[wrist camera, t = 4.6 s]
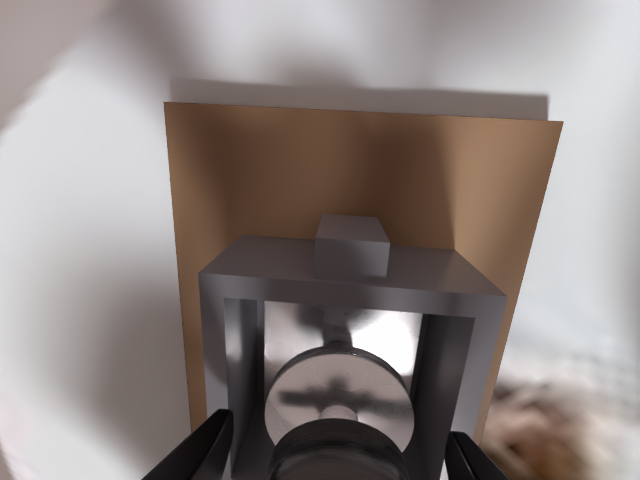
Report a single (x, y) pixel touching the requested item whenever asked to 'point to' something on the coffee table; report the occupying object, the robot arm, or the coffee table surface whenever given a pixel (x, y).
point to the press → (353, 292)
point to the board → (354, 193)
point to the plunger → (338, 391)
